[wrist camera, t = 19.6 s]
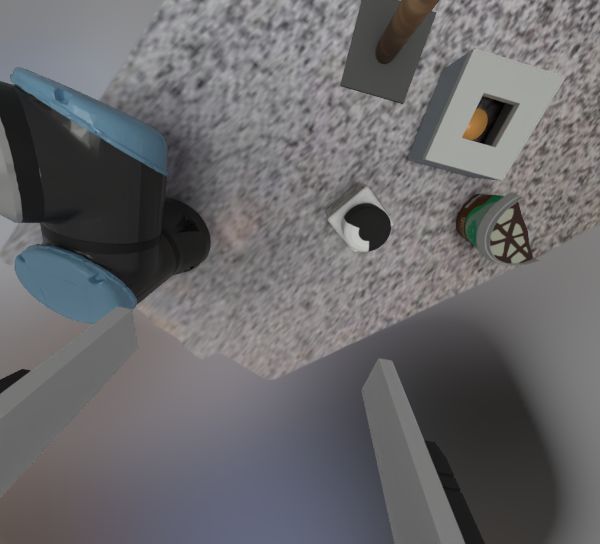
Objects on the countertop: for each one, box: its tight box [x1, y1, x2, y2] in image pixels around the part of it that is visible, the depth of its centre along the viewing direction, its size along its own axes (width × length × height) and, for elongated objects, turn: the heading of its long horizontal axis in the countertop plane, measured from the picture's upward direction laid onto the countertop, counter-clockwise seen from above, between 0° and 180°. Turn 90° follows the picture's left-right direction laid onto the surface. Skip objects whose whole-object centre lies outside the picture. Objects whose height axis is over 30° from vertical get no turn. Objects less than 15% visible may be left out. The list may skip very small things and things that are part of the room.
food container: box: [456, 193, 539, 266], centre depth 38 cm, size 12×6×10 cm, turn 34°
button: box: [462, 108, 488, 141], centre depth 34 cm, size 4×4×3 cm
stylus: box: [376, 0, 439, 64], centre depth 25 cm, size 3×3×15 cm
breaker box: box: [407, 48, 566, 181], centre depth 32 cm, size 12×12×7 cm
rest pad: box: [341, 0, 436, 104], centre depth 32 cm, size 10×10×1 cm
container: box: [326, 183, 394, 252], centre depth 36 cm, size 8×8×13 cm
